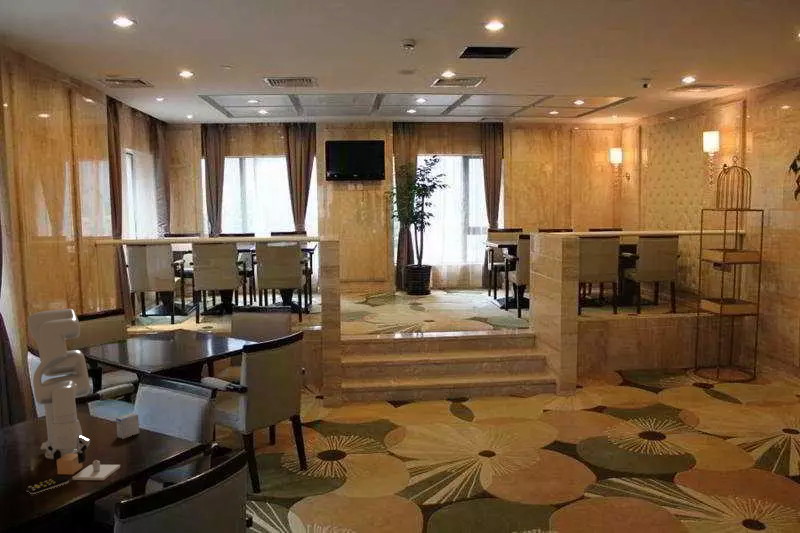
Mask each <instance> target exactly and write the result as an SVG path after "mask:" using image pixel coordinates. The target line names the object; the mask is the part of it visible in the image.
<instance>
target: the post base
mask: <svg viewBox="0 0 800 533" xmlns="http://www.w3.org/2000/svg"><path fill="white" fill-rule="evenodd" d="M120 468H121V464H101V461H100V460H98V459H95V460H94V461H92V464H89V465H88V466H86V467H85V468H82V470H81V471H80V472H77V474H75V475H74V476H72V481H105V480H106V479H107V478H109V477H110V476H111V475H112V474H114V473H115V472H116V471H118V470H119V469H120Z"/></svg>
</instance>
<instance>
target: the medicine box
mask: <svg viewBox="0 0 800 533" xmlns="http://www.w3.org/2000/svg"><path fill="white" fill-rule="evenodd" d="M115 420H116V421H115V423H116V435H117V437H118V439H121V438H122V440H124V439H127V438H129V437H132V435H133V436H135V435H138V434H140V422H139V415H138V414H137V413H133V412H132V413H129V414H125V415H122V416H119V417H117V418H115Z"/></svg>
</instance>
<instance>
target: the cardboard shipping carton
mask: <svg viewBox="0 0 800 533" xmlns="http://www.w3.org/2000/svg"><path fill="white" fill-rule="evenodd" d="M56 466H57V474H58V475H74V474H75V473H78V471H80V470H81V469H84V468H83V462H82V463H81V464H79V463H78V453H76V454H65V455H64V456H62V457H61V458H59V459H58V460H57V464H56Z"/></svg>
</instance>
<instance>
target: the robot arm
mask: <svg viewBox="0 0 800 533" xmlns="http://www.w3.org/2000/svg"><path fill="white" fill-rule="evenodd" d="M27 327H28V330H29V333H30V335H31V337H32V339H33V341H34V342H35V344H36V346H37V348H38V353H39V362H40V363H39V364H38V366H37V367H36V369H35V371H34V373H33V377H32V378H33V379H32V383H33V391H34V397H35V401H36V403H38V404H39V405H43V406H44V412H45V413H44V414H45V422H46V431H47V432H46V433H47V434H46V435H47V440H46V441H45V442H42V444H41V445H40V450H46V451H45V454H44V457H45V458H46V459H48V460H53V463H54V465H57V460H58V459H59V458H61V457H62V456H64V455H65V454H78V463H79V464H81V463H82V464H83V463H84V462H85V461H86V450H87V449H88V448H89V446H90V443H91V439H89V438H87V437H85V436H83V431H82V427H81V423H80V420H79V419H78V416H77V415H78V414H77V404H76V398H82V397H85V396H88V395H89V393H90V390H91V385H90V384H91V383H90V378H89V372H88V368H87V362H86V357H85V355H84V353H83V352H82V351H81V350H79V349H73V350H68V349H67V344H66V343H67V342H66V340H72V339H78V338H79V337H80V335H81V324H80V321H79V319H78V316H77V314H76V312H75V310H74V309H72V308H60V309H52V310H51V309H49V310H42V311H38V312H35V313H32V314H30V315H29V316H28V318H27ZM43 375H44V376H45V377H52V378H48V379H45V380H44V381H42V377H43ZM83 444H84V445H83Z"/></svg>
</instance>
